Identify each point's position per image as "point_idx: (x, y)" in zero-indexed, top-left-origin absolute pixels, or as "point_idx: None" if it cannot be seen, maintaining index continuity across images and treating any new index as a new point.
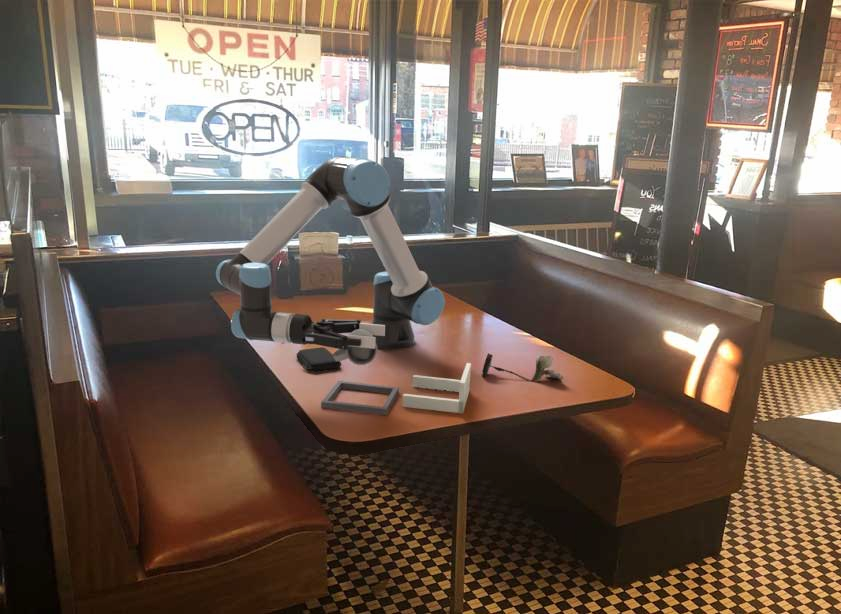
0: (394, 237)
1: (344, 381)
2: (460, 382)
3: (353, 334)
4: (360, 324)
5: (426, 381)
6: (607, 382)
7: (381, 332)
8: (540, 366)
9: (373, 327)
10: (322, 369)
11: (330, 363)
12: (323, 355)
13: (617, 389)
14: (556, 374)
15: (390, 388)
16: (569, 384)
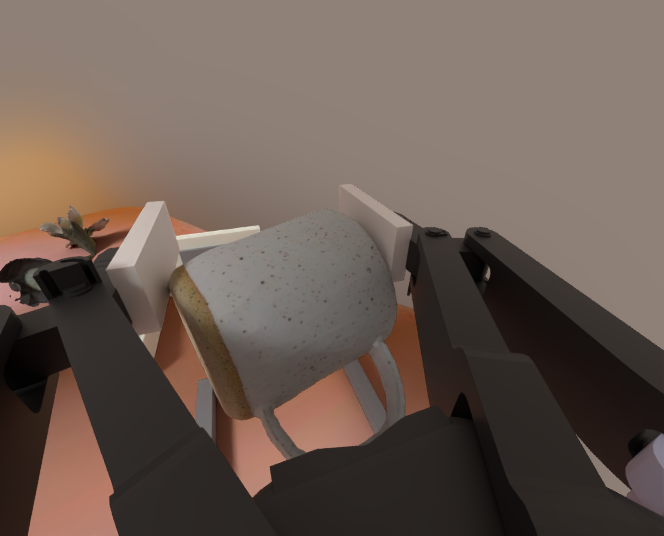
0: None
1: None
2: (258, 228)
3: (317, 261)
4: (138, 266)
5: (148, 339)
6: (98, 216)
7: (172, 240)
8: (80, 227)
9: (159, 236)
10: None
11: None
12: None
13: (125, 210)
14: (103, 223)
15: (212, 395)
16: (108, 231)
